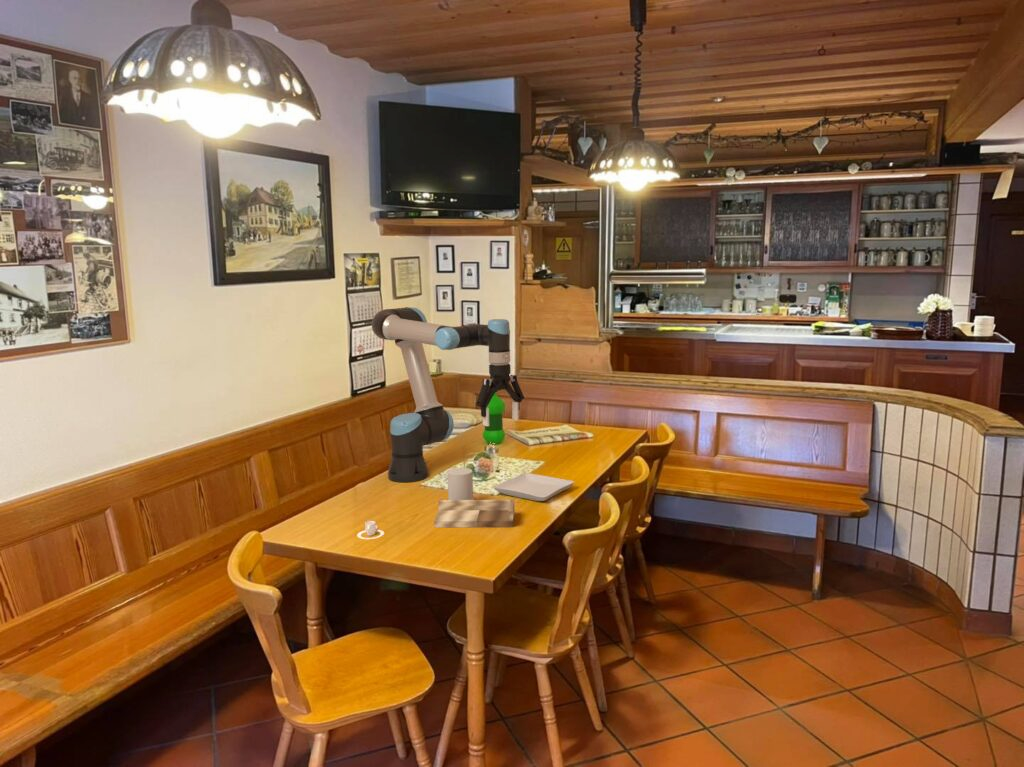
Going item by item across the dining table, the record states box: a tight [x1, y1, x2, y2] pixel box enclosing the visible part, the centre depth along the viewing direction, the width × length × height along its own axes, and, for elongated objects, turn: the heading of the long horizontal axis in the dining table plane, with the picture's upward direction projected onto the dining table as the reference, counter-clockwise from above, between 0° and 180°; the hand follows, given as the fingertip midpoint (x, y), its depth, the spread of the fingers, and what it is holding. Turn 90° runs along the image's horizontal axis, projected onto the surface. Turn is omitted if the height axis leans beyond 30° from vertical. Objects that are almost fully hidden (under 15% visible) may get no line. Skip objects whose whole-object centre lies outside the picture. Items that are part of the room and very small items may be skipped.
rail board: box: [433, 499, 516, 529], centre depth 229 cm, size 24×11×5 cm, turn 87°
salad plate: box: [493, 472, 575, 502], centre depth 257 cm, size 21×21×3 cm
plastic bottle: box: [482, 389, 506, 445], centre depth 326 cm, size 10×10×25 cm
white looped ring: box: [356, 520, 385, 540], centre depth 221 cm, size 9×8×4 cm
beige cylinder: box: [447, 467, 474, 500], centre depth 243 cm, size 8×8×12 cm
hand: (501, 422), depth 263 cm, fingers open, 13 cm apart
